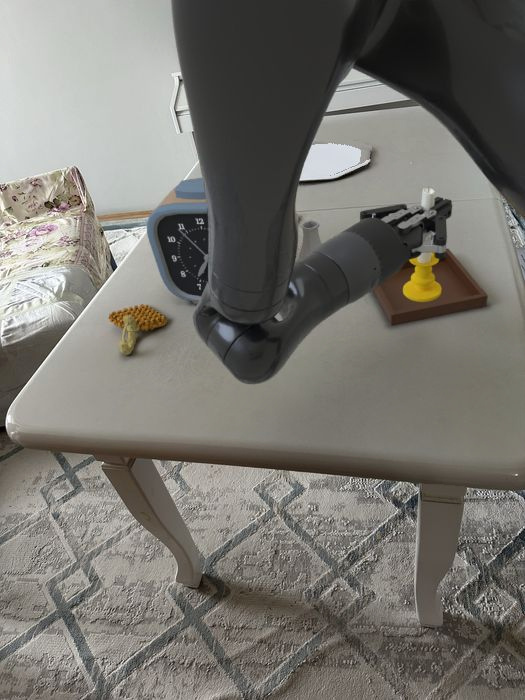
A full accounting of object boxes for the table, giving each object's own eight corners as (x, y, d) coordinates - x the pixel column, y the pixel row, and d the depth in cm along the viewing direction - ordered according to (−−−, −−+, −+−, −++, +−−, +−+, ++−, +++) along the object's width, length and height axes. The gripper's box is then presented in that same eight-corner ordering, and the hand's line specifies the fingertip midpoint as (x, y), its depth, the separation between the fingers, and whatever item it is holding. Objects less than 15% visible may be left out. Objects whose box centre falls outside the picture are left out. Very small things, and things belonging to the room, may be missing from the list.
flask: (317, 257, 103) (313, 210, 96) (341, 271, 98) (338, 223, 91) (288, 271, 100) (281, 225, 94) (310, 286, 95) (305, 238, 89)
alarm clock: (169, 307, 97) (133, 200, 83) (188, 279, 104) (157, 175, 90) (274, 312, 91) (254, 197, 77) (287, 281, 98) (270, 170, 84)
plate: (308, 195, 125) (308, 189, 124) (249, 167, 144) (248, 162, 143) (393, 157, 134) (393, 152, 133) (327, 136, 153) (326, 131, 152)
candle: (447, 286, 73) (458, 180, 63) (430, 306, 70) (439, 198, 60) (413, 277, 76) (418, 174, 66) (396, 295, 73) (398, 191, 63)
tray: (447, 260, 95) (448, 248, 94) (485, 308, 83) (488, 295, 82) (364, 277, 95) (363, 265, 94) (390, 327, 83) (391, 315, 82)
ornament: (116, 287, 96) (88, 322, 82) (172, 293, 96) (154, 328, 82) (118, 320, 99) (91, 359, 86) (172, 325, 99) (155, 365, 86)
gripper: (402, 252, 52) (497, 188, 60) (309, 218, 61) (403, 166, 68) (400, 311, 57) (488, 246, 65) (314, 272, 66) (401, 218, 73)
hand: (444, 205), depth 67 cm, fingers closed on candle, 1 cm apart
